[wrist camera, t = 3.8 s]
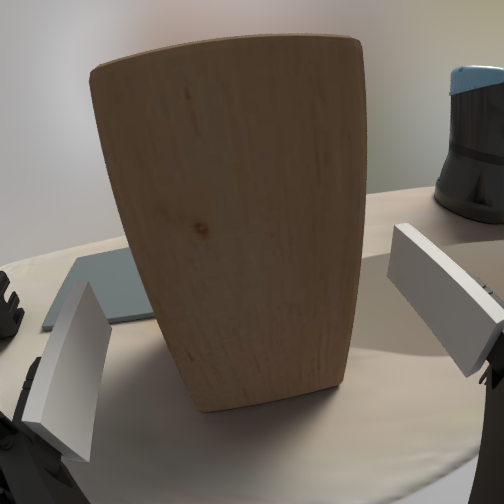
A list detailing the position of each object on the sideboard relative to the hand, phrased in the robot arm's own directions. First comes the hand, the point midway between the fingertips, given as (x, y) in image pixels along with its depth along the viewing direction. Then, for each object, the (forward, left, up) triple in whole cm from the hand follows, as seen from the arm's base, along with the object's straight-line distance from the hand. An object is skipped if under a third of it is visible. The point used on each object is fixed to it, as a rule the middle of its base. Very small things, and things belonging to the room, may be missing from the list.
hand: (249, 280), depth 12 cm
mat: (+14, -19, -11) cm, 25 cm away
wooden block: (0, -6, -11) cm, 12 cm away
